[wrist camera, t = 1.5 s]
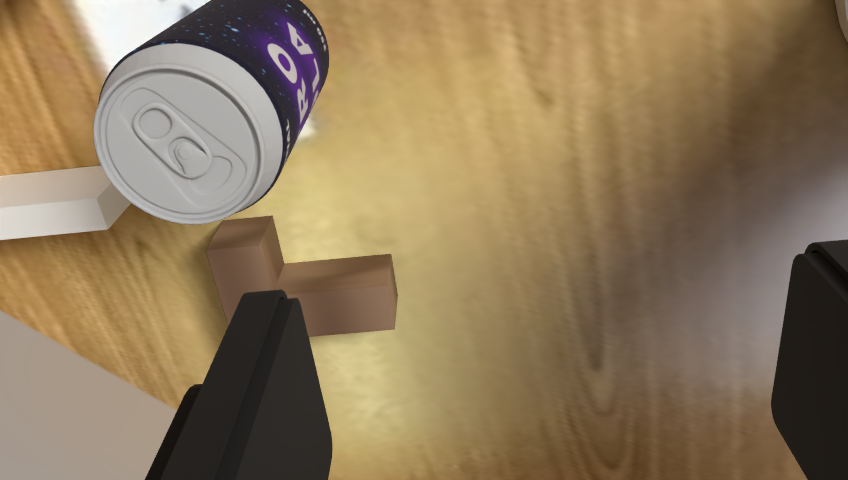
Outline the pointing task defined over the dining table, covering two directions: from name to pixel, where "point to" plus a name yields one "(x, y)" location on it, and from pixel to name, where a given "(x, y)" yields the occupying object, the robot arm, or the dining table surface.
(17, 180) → the corral
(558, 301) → the dining table surface
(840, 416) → the robot arm
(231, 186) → the beverage can
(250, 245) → the walnut T block
